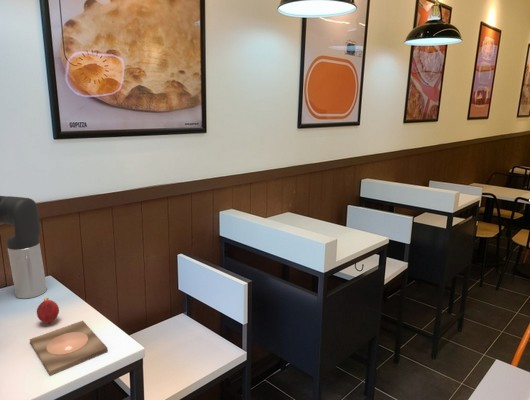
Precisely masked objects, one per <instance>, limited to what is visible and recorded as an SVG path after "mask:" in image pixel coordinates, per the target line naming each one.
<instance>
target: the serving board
mask: <svg viewBox="0 0 530 400" xmlns="http://www.w3.org/2000/svg"><path fill="white" fill-rule="evenodd" d="M29 343H30V345H31V347H32V349H33V351H34V352H35V354H36V355H37V357H38V358H39V360H40V362H41V363H42V365H43V367H44V368H45V370H46V371H47V373H48V375H49V376H50V377H51V376H52V375H56V374H57V373H59V372H63V371H65V370H67V369H70V368H72V367H74V366H77V365H79V364H81V363H84V362H87V361H88V360H91V359H94V358H96V357H99V356H100V355H103V354H105V353H108V351H109V350H108V347H107V346H106V344H105V343H104V342H103V341H102V340H101V339H100V337H98V336H97V334H96V333H95V332H94V331H93V330H92V329H91V328H90V327H89V325H88V324H87V323H86V322H85V321H84V320H80V321H77V322H74V323H72V324H69V325H66V326H63V327H60V328H58V329H54V330H52V331H49V332H46V333H43V334H40V335H39V336H35V337H32V338H30V339H29Z"/></svg>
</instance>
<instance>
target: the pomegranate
mask: <svg viewBox="0 0 530 400" xmlns="http://www.w3.org/2000/svg"><path fill="white" fill-rule="evenodd" d="M59 313H60V307H59V305H58V303H57V302H55V301H53V300H51V299H49V297H47V296H46V297H44V299H43V301H42V302H41V303H40V304H39V305H38V307H37V308H36V316H37V318H38V319H39V320H40V322H42V323H47V324H51V323H52V322H53V321H54V320H56V319H57V318H58V315H59Z"/></svg>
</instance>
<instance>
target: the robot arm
mask: <svg viewBox="0 0 530 400" xmlns="http://www.w3.org/2000/svg"><path fill="white" fill-rule="evenodd" d="M39 211H40V210H39V208H38V205H37V202H36V201H35V200H34V199H33V198H29V197H22V196H13V195H12V196H11V195H10V196H6V195H0V223H1V224H5V225H8V226H14V227H13V228H14V234H12V235H10V236H8V237H7V239H6V247H7V254H8V259H9V264H10V270H11V276H12V282H13V288H14V293H15V294H14V295H15V297H16V298H18V299H31V298H36V297H38V296H40V295H43V294H44V293H45V292H46V291H47V290H48V289H47V283H46V282H47V281H46V275H45V268H44V263H43V257H42V250H41V244H40V236H41V223H40V213H39Z"/></svg>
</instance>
